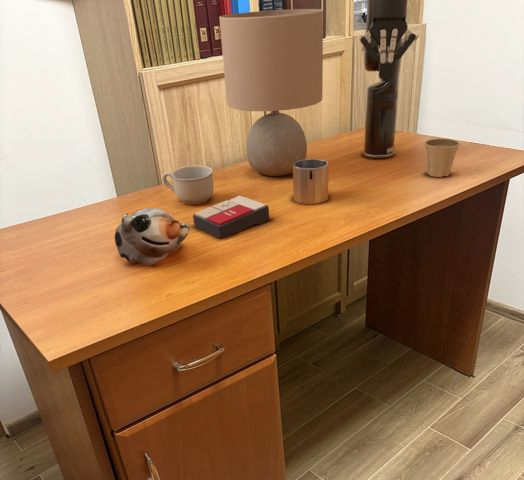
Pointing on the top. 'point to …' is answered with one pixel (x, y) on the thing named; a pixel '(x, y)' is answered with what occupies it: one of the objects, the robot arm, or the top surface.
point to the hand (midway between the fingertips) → (384, 80)
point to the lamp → (273, 79)
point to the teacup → (191, 183)
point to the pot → (310, 181)
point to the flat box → (231, 216)
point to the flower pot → (440, 156)
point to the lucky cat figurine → (149, 236)
